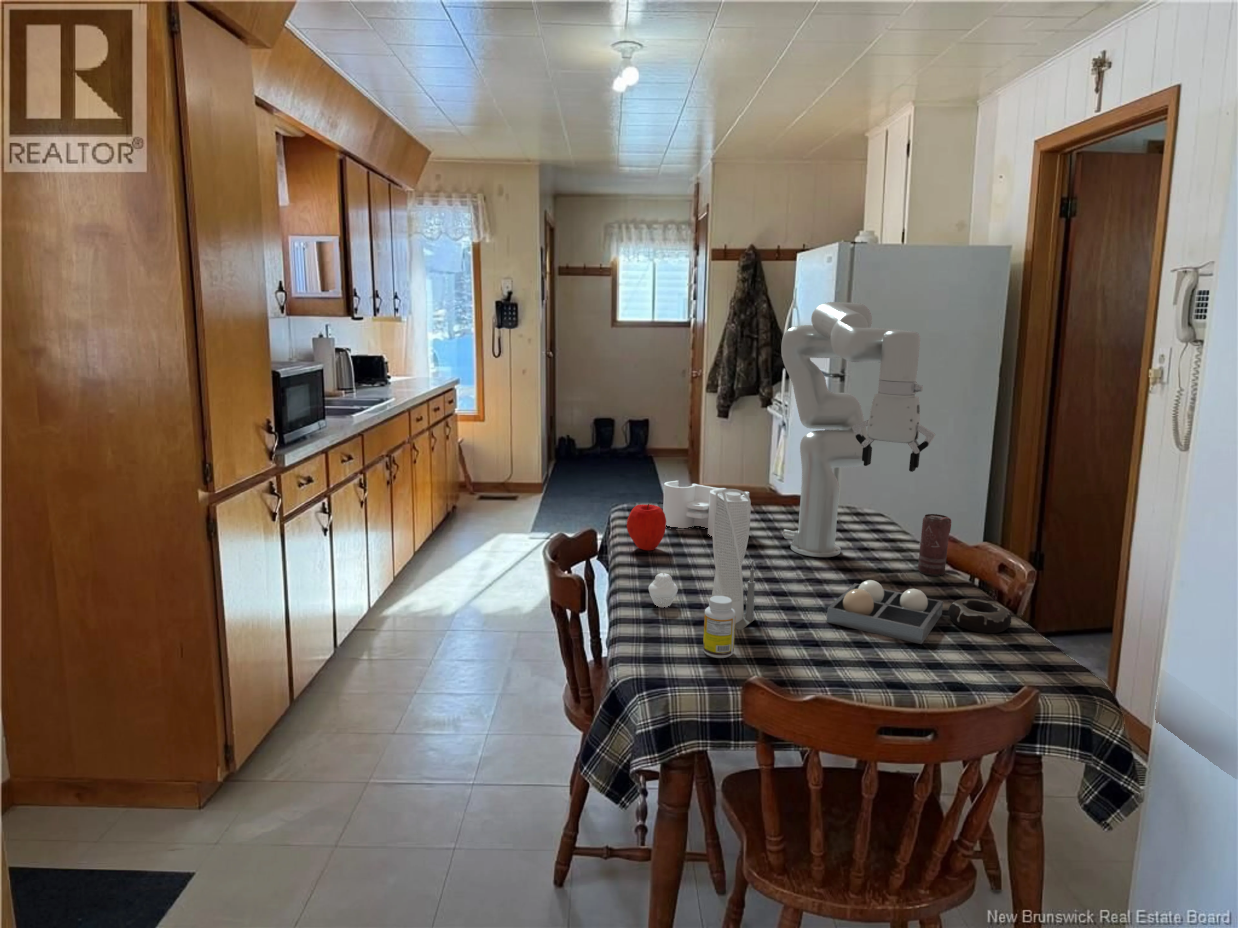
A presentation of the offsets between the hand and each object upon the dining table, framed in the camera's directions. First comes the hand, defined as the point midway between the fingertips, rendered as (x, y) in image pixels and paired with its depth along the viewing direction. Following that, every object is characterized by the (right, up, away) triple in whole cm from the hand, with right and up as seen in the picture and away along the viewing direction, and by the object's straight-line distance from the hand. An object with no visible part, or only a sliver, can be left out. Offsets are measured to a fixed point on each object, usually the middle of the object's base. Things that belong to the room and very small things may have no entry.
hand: (889, 467), depth 176 cm
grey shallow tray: (-4, -31, -10) cm, 33 cm away
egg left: (-6, -29, -5) cm, 30 cm away
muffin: (-50, -29, -6) cm, 58 cm away
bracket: (-35, -18, +52) cm, 65 cm away
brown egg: (-10, -30, -12) cm, 34 cm away
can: (+17, -26, +20) cm, 37 cm away
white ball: (+2, -30, -9) cm, 32 cm away
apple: (-52, -21, +32) cm, 65 cm away
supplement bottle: (-41, -34, -29) cm, 60 cm away
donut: (+14, -32, -12) cm, 37 cm away
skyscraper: (-37, -31, -14) cm, 50 cm away
